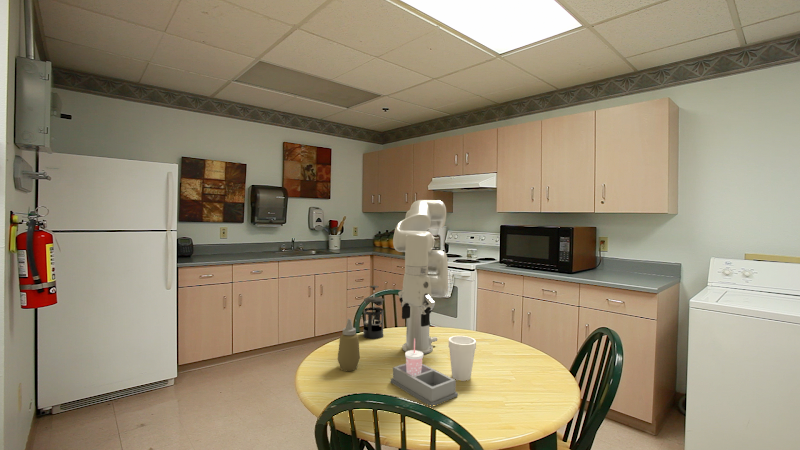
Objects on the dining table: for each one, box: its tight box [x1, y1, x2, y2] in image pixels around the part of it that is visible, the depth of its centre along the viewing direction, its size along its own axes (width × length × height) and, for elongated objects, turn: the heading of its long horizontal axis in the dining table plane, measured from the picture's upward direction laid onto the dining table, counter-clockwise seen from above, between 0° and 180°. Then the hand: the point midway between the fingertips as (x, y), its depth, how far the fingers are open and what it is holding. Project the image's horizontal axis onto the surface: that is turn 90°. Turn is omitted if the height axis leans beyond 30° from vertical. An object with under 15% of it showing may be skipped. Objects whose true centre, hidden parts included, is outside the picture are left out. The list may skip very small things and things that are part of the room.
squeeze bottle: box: [337, 318, 361, 372], centre depth 137 cm, size 8×8×18 cm
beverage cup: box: [404, 338, 424, 376], centre depth 126 cm, size 6×6×14 cm
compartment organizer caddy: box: [390, 363, 459, 408], centre depth 122 cm, size 20×11×5 cm, turn 38°
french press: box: [362, 285, 385, 340], centre depth 174 cm, size 12×9×23 cm
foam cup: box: [448, 335, 477, 382], centre depth 132 cm, size 10×9×13 cm
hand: (415, 321), depth 126 cm, fingers open, 9 cm apart
